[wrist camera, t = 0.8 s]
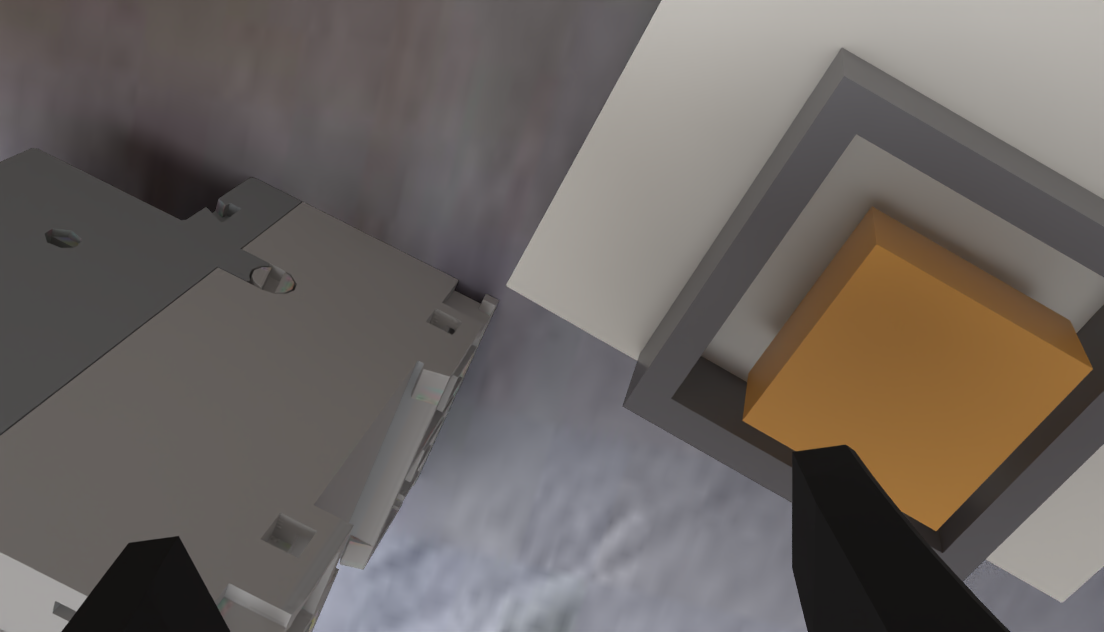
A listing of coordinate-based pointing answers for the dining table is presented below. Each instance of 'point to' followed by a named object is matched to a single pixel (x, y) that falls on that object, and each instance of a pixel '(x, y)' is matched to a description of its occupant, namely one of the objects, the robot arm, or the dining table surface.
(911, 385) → the button
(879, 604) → the robot arm
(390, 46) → the dining table surface
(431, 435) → the circuit breaker
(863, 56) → the slider control box
